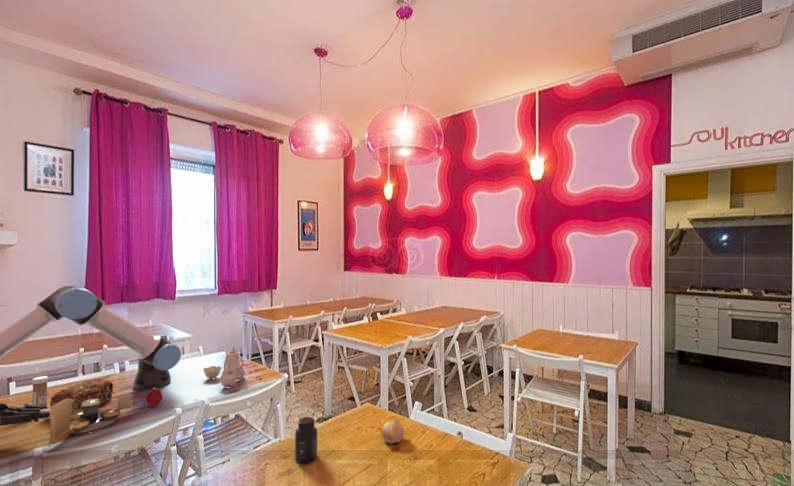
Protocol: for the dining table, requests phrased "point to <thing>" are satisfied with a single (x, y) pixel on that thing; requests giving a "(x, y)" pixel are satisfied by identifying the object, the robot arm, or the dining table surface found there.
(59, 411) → the tan upright wooden panel
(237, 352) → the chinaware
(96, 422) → the tribrach plate
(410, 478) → the dining table surface
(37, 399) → the sprinkles bottle
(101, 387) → the bread
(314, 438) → the supplement bottle
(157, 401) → the onion
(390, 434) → the onion
